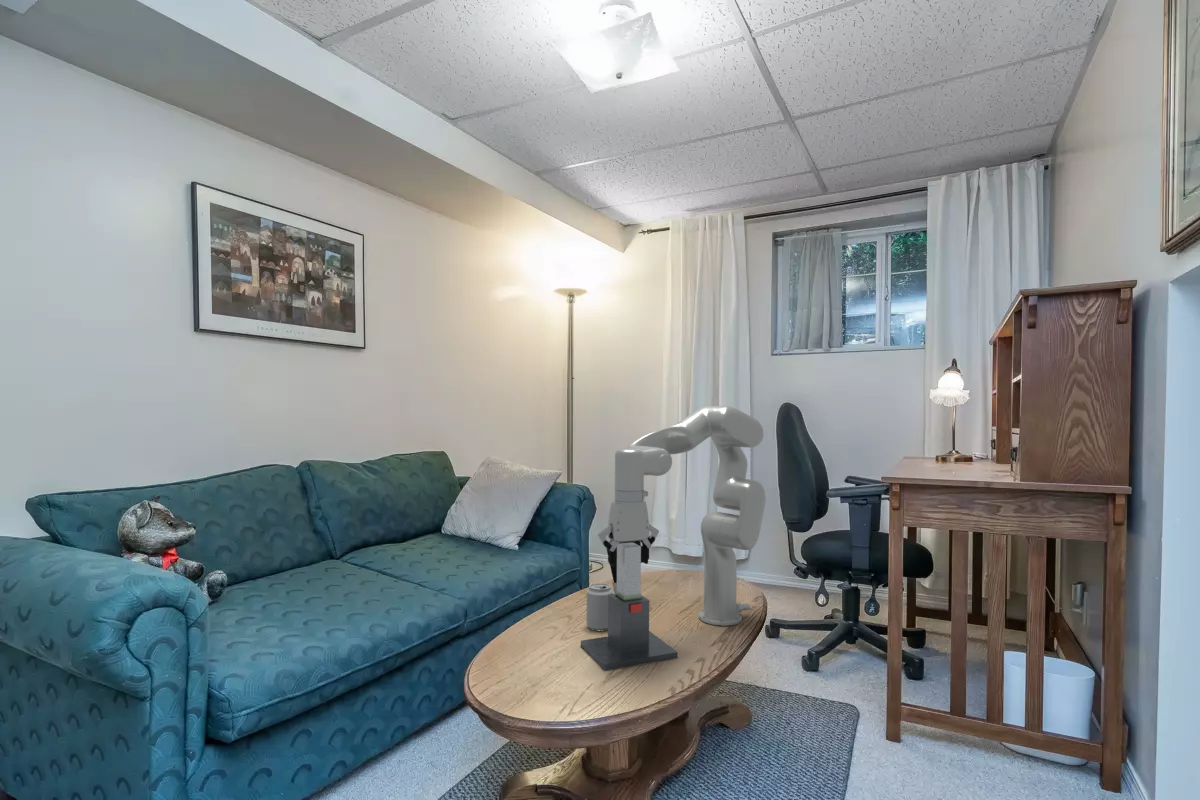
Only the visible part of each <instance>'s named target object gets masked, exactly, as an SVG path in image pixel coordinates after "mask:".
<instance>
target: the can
mask: <svg viewBox="0 0 1200 800" xmlns="http://www.w3.org/2000/svg"><path fill="white" fill-rule="evenodd" d="M611 587H612V585H610V584H608V583H605V582H594V583H591V584H589V586H588V589H587V590H586V626H587V627H588V628H589V629H590V628H591V629H593V630H592V631H595V630H600V631H599V632H602V631H601V630H605V631H608V630H607V629H608V595H610V594H614V589H613V588H611ZM591 629H590V630H591Z"/></svg>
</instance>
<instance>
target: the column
mask: <svg viewBox="0 0 1200 800" xmlns="http://www.w3.org/2000/svg"><path fill="white" fill-rule="evenodd" d="M641 546H642V545H641ZM641 546H639V545H637V544H635V543H633V542H632V543H621V544H618V545H617V590H616V595H617V598H619V599H620V600H621V601H623V602H626V601H634V600H641V595H642V592H641V589H642V588H641V583H642V582H641V581H642V580H641V573H642V567H641V566H642V563H641Z"/></svg>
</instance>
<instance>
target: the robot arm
mask: <svg viewBox="0 0 1200 800" xmlns="http://www.w3.org/2000/svg"><path fill="white" fill-rule="evenodd" d="M764 436H765V435H764V427H763V426H762V424H761V422H760V421H759V420H758V419H756V418H754V417H753V416H752V415H749V414H747V413H745V412H744V411H742V410H740V409H738V408H735V407H734V406H730V405H706V406H705V405H704V406H701V407H699V408H698V409H696V410H694V411H692V413H689V414H688V415H686V416H685V417H684V418H682V419H681V420H680V421H678V422H676V423H675V424H673V425H670V426H667V427H664V428H662V429H659V430H656V431H653V432H650V433H648V434H646V435H643V436H642V437H640V438H638V439H637V440H635V441H633V442H632V443H631V444H630V445H628V446H627V448H619V449H617V450H616V451H615V453H614V501H611V503H610V508H609V513H608V522H607V527H606V528H604V529H603V530H602V531H600V532H599V533H598V534H597V537H598V539H599V540H600V542H601V544H602V545H603V546H604V547H605V549H606V548H607V549H608V553H607V563H608V564H609V566H610V565H611V566H612V567H616V566H617V552H616V551H615V549H616V547H617V545H618V544H619V542H631V541H640V543H641V562H642V563H643V564H645V565H648V564H649V559H650V548H652V545H653V543H654V542H655V541H656V538H657V536H658V534H659V533H660V530H659V529H657V528H656V527H654V526H652V525H651V524H650V520H649V512H648V507H647V502H646V501H645V498H646V497H649V491H646V490H645V489H644V488H645V476H653V477H654V476H655V477H659V476H660V477H661V476H664V475H666V474H667V473H668V472H670V470H671V469H672V466H673V457H672V455H678V454H683V453H687V452H691V451H693V450H694V449H695V448H696V447H698V446H699V445H701V444H702V443H703V442H704V441H705V440H707V439H708V438H711V440H712V443H713V444H714V447H716V451H717V453H718V459H719V463H718V468H717V469H718V470H717V473H716V478H715V483H714V487H713V493H712V499H713V503H714V504H715V505H716V506H718V507H720V508H721V509H722V508H723V509H726V510H731V511H738V512H739V514H733V513H728V512H722V511H711V512H708V513H707V514H705V515H704V516H703V518H702V520H701V522H700V534H701V540H702V545H703V570H704V571H703V609H702V610H700V611H699V612H698V619H699V620H700V621H702V622H704V623H706V624H709V625H712V626H713V625H714V626H719V625H721V626H723V627H725V626H729V625H730V626H735V625H738V624H739V623H741V622H742V617H743V616H742V615H741V614H740V613H741V612H742V611H743V612H744V611H749V610H750V609H751V606H750V604H749V603H742V602H737V556H736V553H735V551H734V549H736V550H741V551H742V550H743V551H749V550H752V549H754V547H755V546H756V544H758V543H757V542H758V541H759V537H760V533H761V527H762V522H763V518H764V513H765V507H766V491H765V488H764V486H763V484H761V483H760V482H759V481H757V480H754V479H748V478H746V477H747V472H748V459H747V456H746V454H745V452H744V450H743V449H742V448H749V449H750V448H756V447H757V446H759V445H760V444H761V442H762V441H763V439H764ZM606 537H607V538H608V539H610V540H609V541H608V540H607V538H606ZM607 549H606V550H607Z"/></svg>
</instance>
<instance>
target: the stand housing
mask: <svg viewBox="0 0 1200 800" xmlns="http://www.w3.org/2000/svg"><path fill="white" fill-rule="evenodd" d="M580 647H581V648H582V649H583V648H584V649H583V651H585V653H586V654H588V656H589V657H590V658H591V659H593V661H594V662H595V663H597V665H598V666H599V668H601V669H602V670H603V671H611V670H612V671H613V670H617V669H618V670H619V669H624V668H628V667H634V666H641V665H646V664H651V663H657V662H663V660H664V661H668V660H674V659H673V658H675V659H678V658H679V654H678V653H679V652H678V651H677V650H676V649H675V648H673V647H672V646H670V645H669V644H668V643H666V642H665V641H663V640H662V638H659V637H658V636H657V635H655V634H654V633H653V632H652V631H650V600H649V599H648V598H647V597H646V596H643V595H642V594H641V600H634V601H626V602H623V601H621V600H620V599H619V598H617V595H616V594H615V593H613V594H610V595H608V630H607V636H603V637H601V636H600V637H595V638H591V639H590V638H589V639H583V640H582V639H581V640H580Z"/></svg>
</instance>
